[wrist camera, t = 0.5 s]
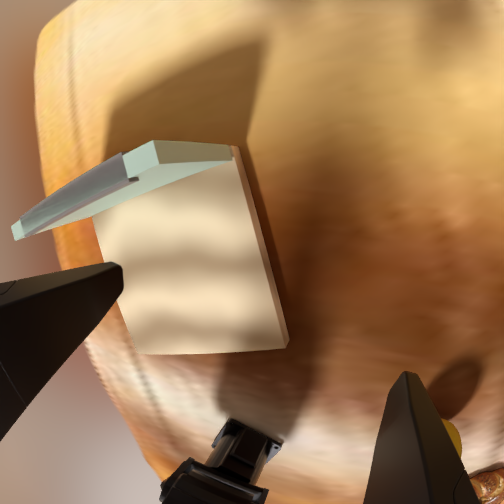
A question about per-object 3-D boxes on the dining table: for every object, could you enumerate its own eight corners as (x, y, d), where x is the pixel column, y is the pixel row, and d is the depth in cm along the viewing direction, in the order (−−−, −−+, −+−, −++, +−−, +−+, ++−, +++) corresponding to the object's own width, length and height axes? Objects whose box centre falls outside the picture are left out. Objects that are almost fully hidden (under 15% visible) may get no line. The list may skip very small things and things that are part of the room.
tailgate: (233, 163, 21) (160, 168, 13) (89, 219, 27) (15, 243, 19) (227, 142, 21) (151, 135, 13) (85, 203, 27) (10, 224, 19)
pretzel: (501, 452, 20) (508, 473, 17) (519, 477, 20) (524, 495, 16) (421, 498, 25) (421, 519, 22) (450, 517, 24) (451, 535, 21)
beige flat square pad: (289, 339, 25) (285, 348, 24) (146, 347, 31) (137, 354, 30) (238, 146, 23) (230, 145, 21) (99, 203, 29) (88, 205, 27)
